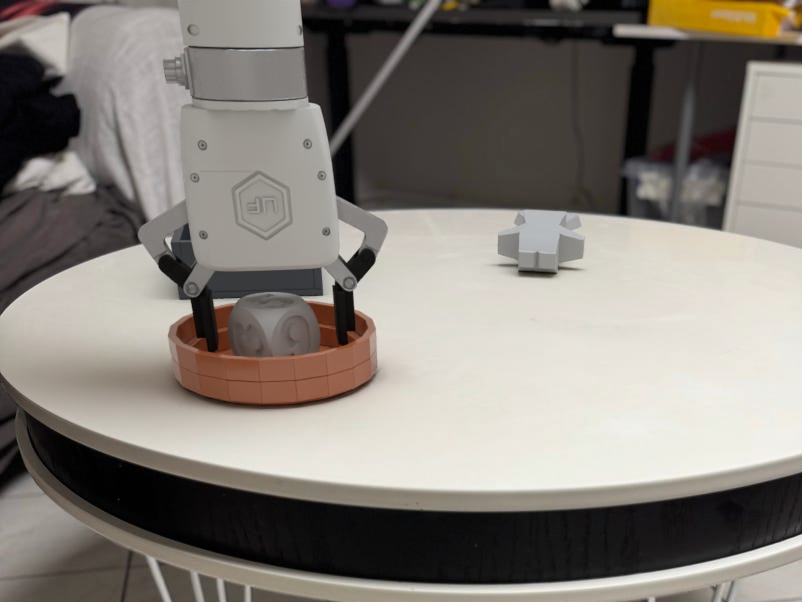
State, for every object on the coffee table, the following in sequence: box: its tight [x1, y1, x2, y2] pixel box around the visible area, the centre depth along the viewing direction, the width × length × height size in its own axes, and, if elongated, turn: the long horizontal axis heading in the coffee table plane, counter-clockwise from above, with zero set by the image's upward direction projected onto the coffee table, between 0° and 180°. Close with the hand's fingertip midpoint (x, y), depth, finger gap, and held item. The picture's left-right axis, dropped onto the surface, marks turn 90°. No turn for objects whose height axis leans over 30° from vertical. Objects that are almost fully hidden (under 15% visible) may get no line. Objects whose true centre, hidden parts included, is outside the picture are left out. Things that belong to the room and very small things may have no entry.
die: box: [227, 292, 320, 357], centre depth 69 cm, size 5×5×5 cm
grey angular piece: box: [497, 209, 586, 274], centre depth 101 cm, size 10×5×15 cm
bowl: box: [167, 300, 379, 406], centre depth 69 cm, size 15×15×4 cm
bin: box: [170, 223, 324, 300], centre depth 92 cm, size 14×14×5 cm
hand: (278, 344), depth 69 cm, fingers open, 9 cm apart
